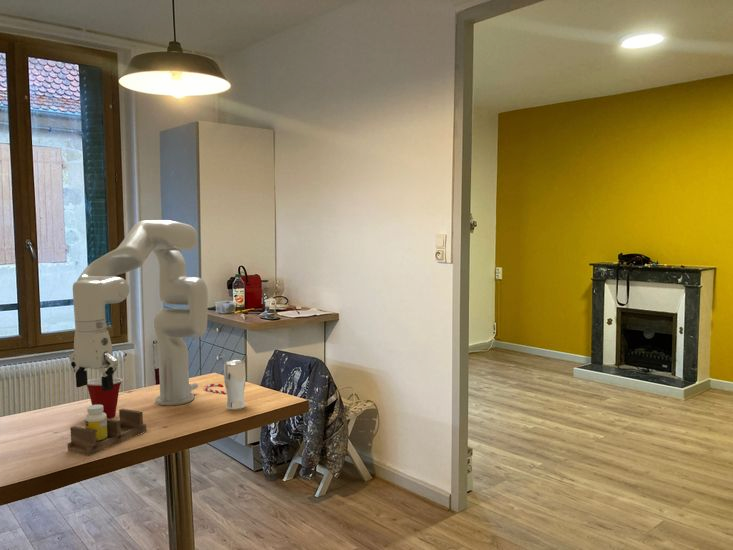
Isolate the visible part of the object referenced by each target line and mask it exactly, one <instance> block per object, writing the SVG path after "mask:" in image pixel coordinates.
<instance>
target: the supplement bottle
mask: <svg viewBox="0 0 733 550" xmlns="http://www.w3.org/2000/svg"><path fill="white" fill-rule="evenodd" d="M86 409H87V410H86V411H87V414H86V415H85V418H84V426H85V427H84V428H87V429H92V430H96V443H99V442H101V441H103V440H106V439H108V433H107V415H106V414H105V413H104V412H103V411H104V409H103V405H92V404H91V405H89V406H87V408H86Z"/></svg>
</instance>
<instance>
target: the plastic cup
mask: <svg viewBox="0 0 733 550" xmlns="http://www.w3.org/2000/svg"><path fill="white" fill-rule="evenodd" d="M87 381H88V384H87V385H86V387H87V391H88V393H89V398H90V402H91V405H103V409H104V411H103V412H104V413H105V414H106V415H107V418H108V419H113V418H115V416H116V414H117V413H116V412H117V407H118V400H119V392H120V388H121V384H122V383H123V378H120V377H113V389H111V390H108V391H102V380H101V377H100V378H92V379H87Z"/></svg>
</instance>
